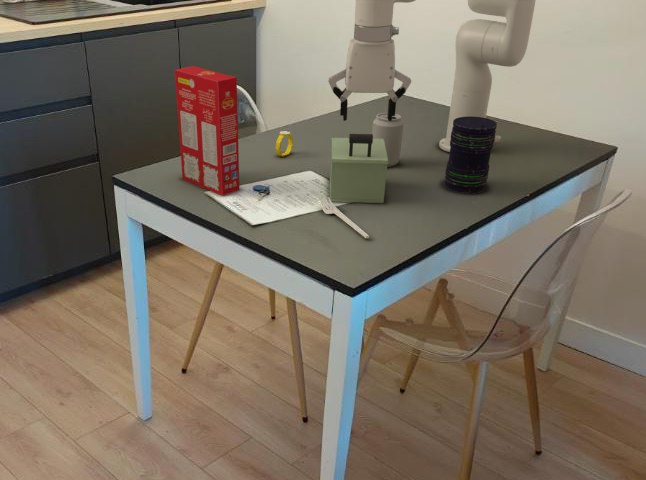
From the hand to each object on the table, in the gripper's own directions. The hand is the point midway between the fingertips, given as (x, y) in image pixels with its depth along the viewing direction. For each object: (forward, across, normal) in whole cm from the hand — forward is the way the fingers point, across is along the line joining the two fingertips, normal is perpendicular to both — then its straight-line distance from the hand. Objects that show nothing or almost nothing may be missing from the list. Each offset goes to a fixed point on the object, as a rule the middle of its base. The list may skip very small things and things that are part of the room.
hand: (367, 119), depth 152 cm
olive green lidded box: (+17, +1, -2) cm, 17 cm away
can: (+18, -7, -22) cm, 29 cm away
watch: (+18, +19, -26) cm, 37 cm away
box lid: (+8, +1, -2) cm, 8 cm away
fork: (+17, +4, +16) cm, 24 cm away
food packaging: (+17, +36, -4) cm, 40 cm away
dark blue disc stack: (+18, -25, -7) cm, 31 cm away
